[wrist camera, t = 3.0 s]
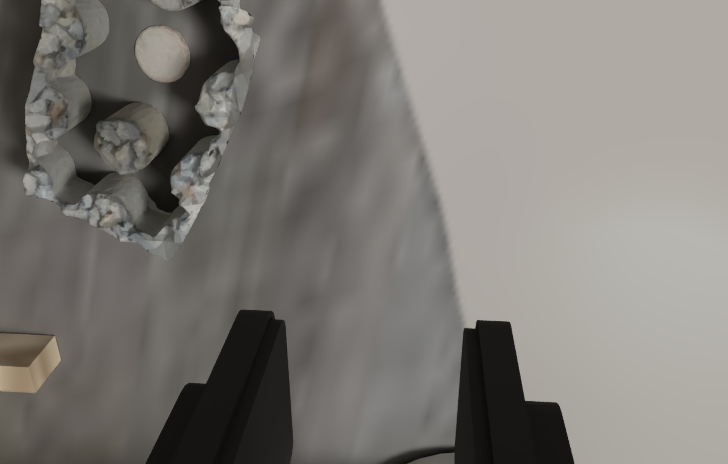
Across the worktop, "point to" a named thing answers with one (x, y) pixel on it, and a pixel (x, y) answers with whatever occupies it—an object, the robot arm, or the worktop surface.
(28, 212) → the worktop surface
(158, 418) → the worktop surface
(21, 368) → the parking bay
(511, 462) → the robot arm
